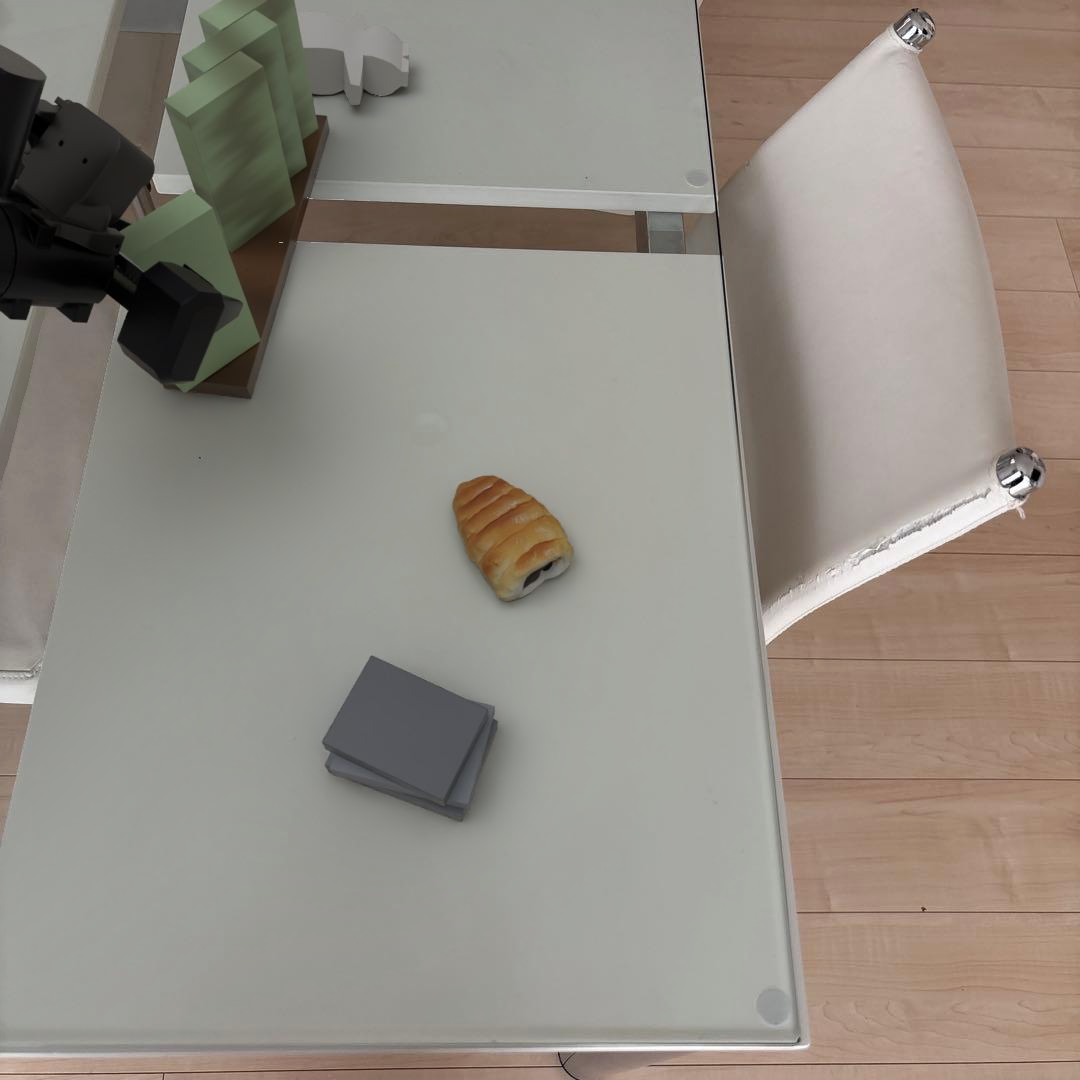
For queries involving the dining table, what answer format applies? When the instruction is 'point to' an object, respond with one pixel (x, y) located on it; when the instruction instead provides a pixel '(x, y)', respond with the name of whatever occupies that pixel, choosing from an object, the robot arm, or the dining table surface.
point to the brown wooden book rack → (250, 154)
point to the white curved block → (352, 56)
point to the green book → (194, 267)
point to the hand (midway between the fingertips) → (192, 273)
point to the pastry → (509, 536)
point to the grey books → (410, 739)
